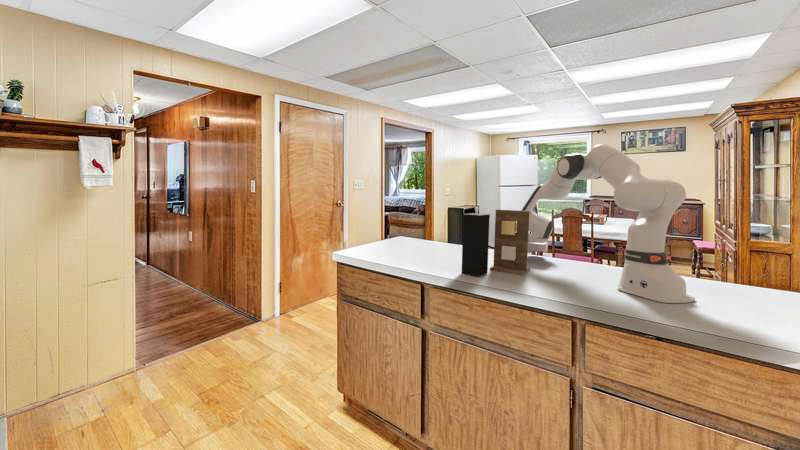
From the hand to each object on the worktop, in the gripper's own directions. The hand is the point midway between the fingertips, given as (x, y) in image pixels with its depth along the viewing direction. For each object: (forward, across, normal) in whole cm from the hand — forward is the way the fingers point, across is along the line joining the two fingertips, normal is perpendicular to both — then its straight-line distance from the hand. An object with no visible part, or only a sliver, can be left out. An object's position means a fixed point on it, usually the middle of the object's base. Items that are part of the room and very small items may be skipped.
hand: (520, 247), depth 167 cm
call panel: (+15, 0, +8) cm, 17 cm away
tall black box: (+29, -10, +8) cm, 32 cm away
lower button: (+15, 0, +3) cm, 15 cm away
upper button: (+17, 0, -8) cm, 18 cm away
